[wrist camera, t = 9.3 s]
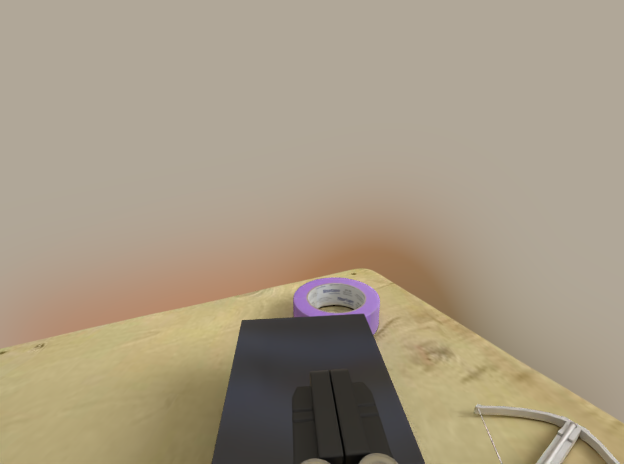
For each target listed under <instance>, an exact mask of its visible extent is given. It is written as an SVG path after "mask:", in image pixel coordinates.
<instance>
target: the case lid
mask: <svg viewBox="0 0 624 464" xmlns="http://www.w3.org/2000/svg"><path fill="white" fill-rule="evenodd" d="M334 369H348V370H349V373H350V377H351V381H352V383H355V382H364V383H365V385H366V386H367V387H368V388H369V389H370V390H371V391H372V394H373V397H374V400H375V403H376V406H377V409H378V413H379V416H380V419H381V422H382V425H383V428H384V431H385V434H386V437H387V440H388V444H389V447H390V450H391V453H392V455H393V457H394V459H395V460H396V462H397V463H398V464H425V462H424V459H423V457H422V454H421V452H420V449H419V447H418V444H417V442H416V440H415V437H414V435H413V432H412V430H411V427H410V425H409V422H408V420H407V417H406V415H405V413H404V410H403V408H402V405H401V403H400V400H399V398H398V395H397V393H396V390H395V388H394V386H393V383H392V381H391V378H390V376H389V373H388V371H387V368H386V366H385V363H384V361H383V358H382V356H381V354H380V351H379V349H378V346H377V344H376V341H375V339H374V336H373V334H372V331H371V329H370V327H369V324H368V322H367V319H366V317H365V314H346V315H328V316H310V317H292V318H274V319H256V320H242V322H241V327H240V332H239V336H238V341H237V346H236V351H235V355H234V360H233V365H232V369H231V374H230V379H229V384H228V388H227V393H226V398H225V402H224V407H223V412H222V417H221V421H220V426H219V431H218V435H217V440H216V445H215V450H214V454H213V459H212V464H293V427H292V396H293V394H294V392H295V390H296V388H297V387H301V386H310V371H321V370H328V371H329V370H334Z"/></svg>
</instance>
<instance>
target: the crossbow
mask: <svg viewBox="0 0 624 464" xmlns="http://www.w3.org/2000/svg"><path fill="white" fill-rule="evenodd" d="M474 413H475V414H480V416H481V418H482V420H483V417H482V415H481V414H488V415H507V416H516V417H525V418H530V419H536V420H542V421H546V422H549V423H552V424H555V425H557V426H559V427H562V428H561V429H560V430H559V431H558V433H557V435H556V437H555V438H554V439H553V441H552V442H551V444H550V445H549V446H548V448H547V449H546V450H545V452H544V453H543V455H542V456H541V457H540V459H539V460H538V461H537V463H536V464H562V462H563V461H564V459H565V458H566V456H567V454H568V453H569V451H570V450H571V448H572V447H573V445H574V444H575V442H576V440H577V439H578V437H580V438H581V439H582V440H583V441H586V442H587V443H588V444H589V445H590V446H591V447H592V448H593V449H595V450H596V451H597V452H598V454H599V455H600V456H601V457H602V458H603V459H604V461H605V462H606V463H607V464H620V463H619V462H618V461H617V460H616V458H615V457H614V456H613V455H612V454H611V453H610V452H609V451H608V450H607V448H606V447H605V446H604V445H603V444H602V443H601V442H600V441H599V440H598V439H597V438H596V437H594V436H593V435H592V434H591V433H590V431H588V430H587V429H586V428H585V427H582V426H580V425H578V424H577V423H575V422H573V421H571V420H569V419H568V418H566V417H563V416H558V415H555V414H552V413H549V412H543V411H538V410H532V409H526V408H516V407H506V406H482V405H479V404H477V405H476V406H475V410H474ZM483 423H484V425H485V427H486V424H485V422H484V420H483ZM486 430H487V432H488V434H489V437H490V439H491V441H492V444H493V446H494V448H495V451H496V453H497V456H498V458H499V460H500V463H501V464H502V461H501V459H500V457H499V454H498V452H497V450H496V447H495V445H494V443H493V440H492V438H491V436H490V433H489V431H488V429H487V427H486Z"/></svg>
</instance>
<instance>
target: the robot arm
mask: <svg viewBox="0 0 624 464" xmlns="http://www.w3.org/2000/svg"><path fill="white" fill-rule="evenodd" d="M292 427H293V464H398V463H397V462H396V460H395V459H394V457H393V455H392V453H391V450H390V447H389V444H388V440H387V437H386V434H385V431H384V428H383V425H382V422H381V419H380V416H379V413H378V409H377V406H376V403H375V400H374V397H373V394H372V391H371V390H370V389H369V388H368V387H367V386H366V385H365V383H364V382H355V383H352V381H351V377H350V373H349V370H348V369H334V370H329V371H328V370H321V371H310V386H301V387H297V388H296V390H295V392H294V394H293V396H292Z"/></svg>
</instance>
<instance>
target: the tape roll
mask: <svg viewBox="0 0 624 464" xmlns="http://www.w3.org/2000/svg"><path fill="white" fill-rule="evenodd" d="M293 304H294V317H310V316H328V315H346V314H365V317H366V319H367V322H368V324H369V327H370V329H371V331H372V334H373V335H374V333H375V332H376V331H377V328H378V324H379V307H380V299H379V295H378V294H377V292H376V291H375V290H374V289H373V288H371V287H370V286H368V285H366V284H364V283H362V282H359V281H356V280H352V279H347V278H322V279H317V280H313V281H311V282H308V283H306V284H304V285H302V286H301V287H300V288H299V289H298V290H297V291H296V292H295V294H294V298H293ZM328 305H342V306H347V307H350V308H352V309H354V310H352V311H348V312H337V313H336V312H327V311H323V310H320V309H318V308H320V307H323V306H328Z"/></svg>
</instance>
